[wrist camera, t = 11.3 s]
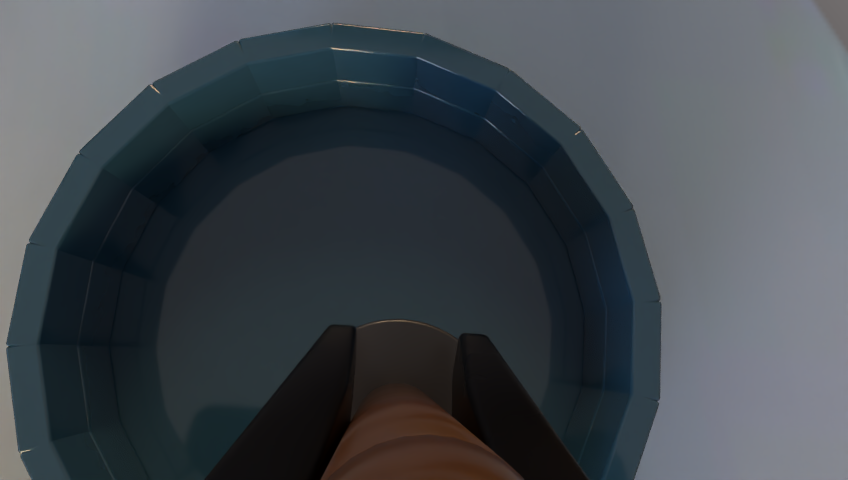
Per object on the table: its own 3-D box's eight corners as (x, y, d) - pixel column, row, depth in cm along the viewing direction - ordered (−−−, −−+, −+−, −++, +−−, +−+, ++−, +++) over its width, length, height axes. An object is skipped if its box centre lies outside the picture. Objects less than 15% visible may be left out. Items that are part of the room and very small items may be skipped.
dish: (694, 415, 18) (784, 433, 14) (251, 718, 16) (206, 841, 12) (437, 17, 20) (451, -70, 16) (8, 243, 18) (-104, 209, 14)
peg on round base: (490, 450, 17) (1022, 904, 3) (347, 511, 16) (132, 1434, 2) (434, 308, 17) (645, 102, 3) (295, 362, 17) (-128, 386, 3)
